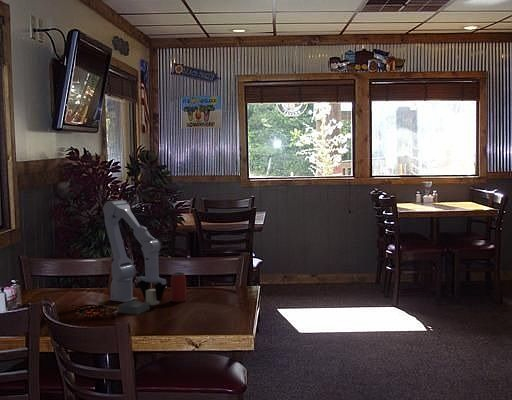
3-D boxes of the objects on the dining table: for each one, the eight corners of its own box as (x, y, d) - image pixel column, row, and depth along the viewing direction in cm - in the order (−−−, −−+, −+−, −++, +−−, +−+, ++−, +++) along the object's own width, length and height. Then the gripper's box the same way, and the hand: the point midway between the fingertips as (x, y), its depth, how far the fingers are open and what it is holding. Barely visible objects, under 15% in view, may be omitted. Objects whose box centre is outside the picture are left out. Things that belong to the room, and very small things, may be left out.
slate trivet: (118, 312, 276) (118, 305, 276) (131, 307, 284) (131, 300, 284) (137, 314, 272) (136, 307, 272) (149, 309, 280) (149, 302, 280)
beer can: (183, 302, 292) (183, 275, 291) (169, 302, 294) (168, 274, 293) (188, 299, 299) (187, 272, 298) (173, 299, 300) (173, 272, 299)
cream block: (146, 304, 291) (145, 290, 290) (152, 302, 294) (152, 288, 294) (152, 305, 289) (152, 291, 288) (159, 303, 292) (158, 289, 291)
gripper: (132, 267, 291) (133, 299, 292) (157, 270, 283) (158, 303, 284) (144, 265, 297) (145, 296, 298) (169, 268, 289) (170, 299, 289)
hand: (152, 299), depth 291 cm, fingers open, 7 cm apart
